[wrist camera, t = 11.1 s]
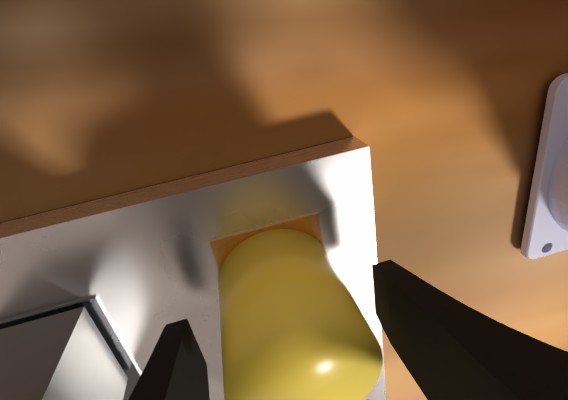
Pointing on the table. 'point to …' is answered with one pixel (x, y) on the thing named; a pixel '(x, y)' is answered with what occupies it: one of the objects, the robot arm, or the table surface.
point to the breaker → (59, 360)
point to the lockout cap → (292, 324)
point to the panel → (188, 250)
